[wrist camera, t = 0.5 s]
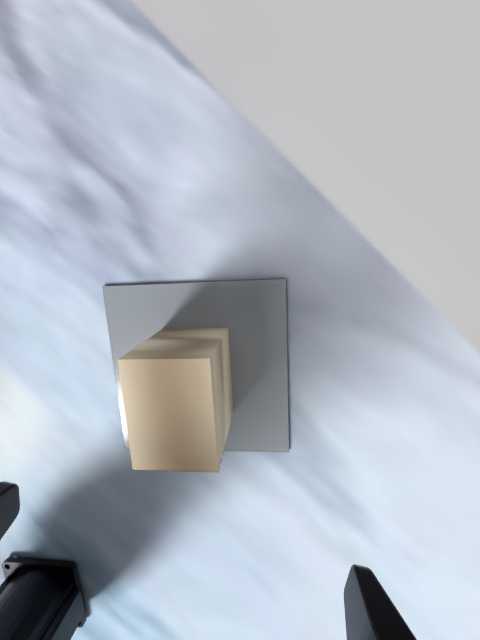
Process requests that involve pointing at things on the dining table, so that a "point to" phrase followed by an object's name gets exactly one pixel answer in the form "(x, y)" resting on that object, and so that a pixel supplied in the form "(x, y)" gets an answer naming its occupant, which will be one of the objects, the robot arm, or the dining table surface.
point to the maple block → (178, 399)
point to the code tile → (244, 340)
